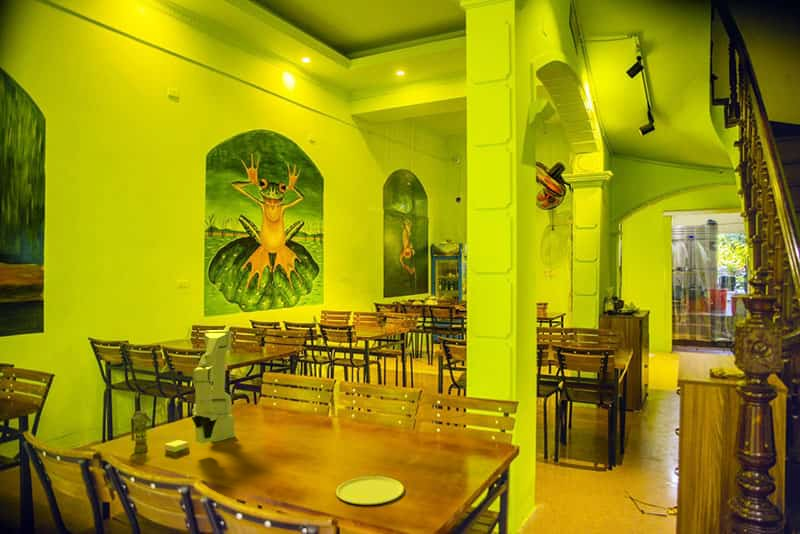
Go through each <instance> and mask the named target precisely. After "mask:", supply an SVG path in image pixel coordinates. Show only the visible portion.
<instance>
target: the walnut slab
mask: <svg viewBox="0 0 800 534" xmlns="http://www.w3.org/2000/svg"><path fill="white" fill-rule="evenodd" d="M164 452H165V455H168V454H169V456H173V457H178V455H179V456H182V455H185V454H187V453H189V452H190V446H189V447H188V448H185V449H182V450H179V451H176V452H173V451H168V450H165V449H164Z"/></svg>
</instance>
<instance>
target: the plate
mask: <svg viewBox="0 0 800 534" xmlns="http://www.w3.org/2000/svg"><path fill="white" fill-rule="evenodd" d="M404 492H405V486H404V485H403V484H402V483H401V482H400V481H398V480H396V479H393V478H390V477H386V476H377V475H375V476H372V475H371V476H360V477H356V478H353V479H349V480H346V481H345V482H343V483H341V484H340V485H339V486H338V487H337V488H336V489H335V494H336V495H335V496H336V497H337V498H338V499H339V500H341V501H342V502H345V503H348V504H352V505H356V506H376V505H377V506H378V505H383V504H387V503H390V502H393V501H395V500H397V499H398V498H401V496H402V495H403V494H404Z"/></svg>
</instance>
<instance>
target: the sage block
mask: <svg viewBox="0 0 800 534" xmlns="http://www.w3.org/2000/svg"><path fill="white" fill-rule="evenodd" d="M195 442H196V443H200V444H206V443H209V442H213V431H212V435H211V437H210V438H205V436H204V429H203V426H200V427H196V426H195Z"/></svg>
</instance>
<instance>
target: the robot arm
mask: <svg viewBox="0 0 800 534" xmlns="http://www.w3.org/2000/svg"><path fill="white" fill-rule="evenodd" d="M203 337H204V338H203V339H204V340H203V341H204V344H205V346H206V349H205V353H203V354H202V355H201V356H200V360H199V362H198V365H197V367H196V368H194V370H193V372H192V382H193V387H194V389H195V391H194V393H195V408H192V410H191V413H192V417H191V420H192V421H193V423H194V425H195V428H196V427H200V426H203V429H204V436H205V438H210V437H211V435H212V431H213V441H212V442H213V443H217V442H220V441H224V440H228V439H231V438H235V437H236V434H235V432H236V431H235V418H234V416H233V415H232V414H231V413H232V411H233V408H232V406H233V403H232V396H231V395H230V394H229V393H227V392H226V391H225V390H226V389H225V386H226V384H225V383H226V363H227V362H226V361H227V360H226V359H227V354H228V353H227V352H228V351H230V350H232V331H231V330H230V329H214V330H213V329H211V330H210V329H207V330H205V332H204V335H203Z"/></svg>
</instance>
